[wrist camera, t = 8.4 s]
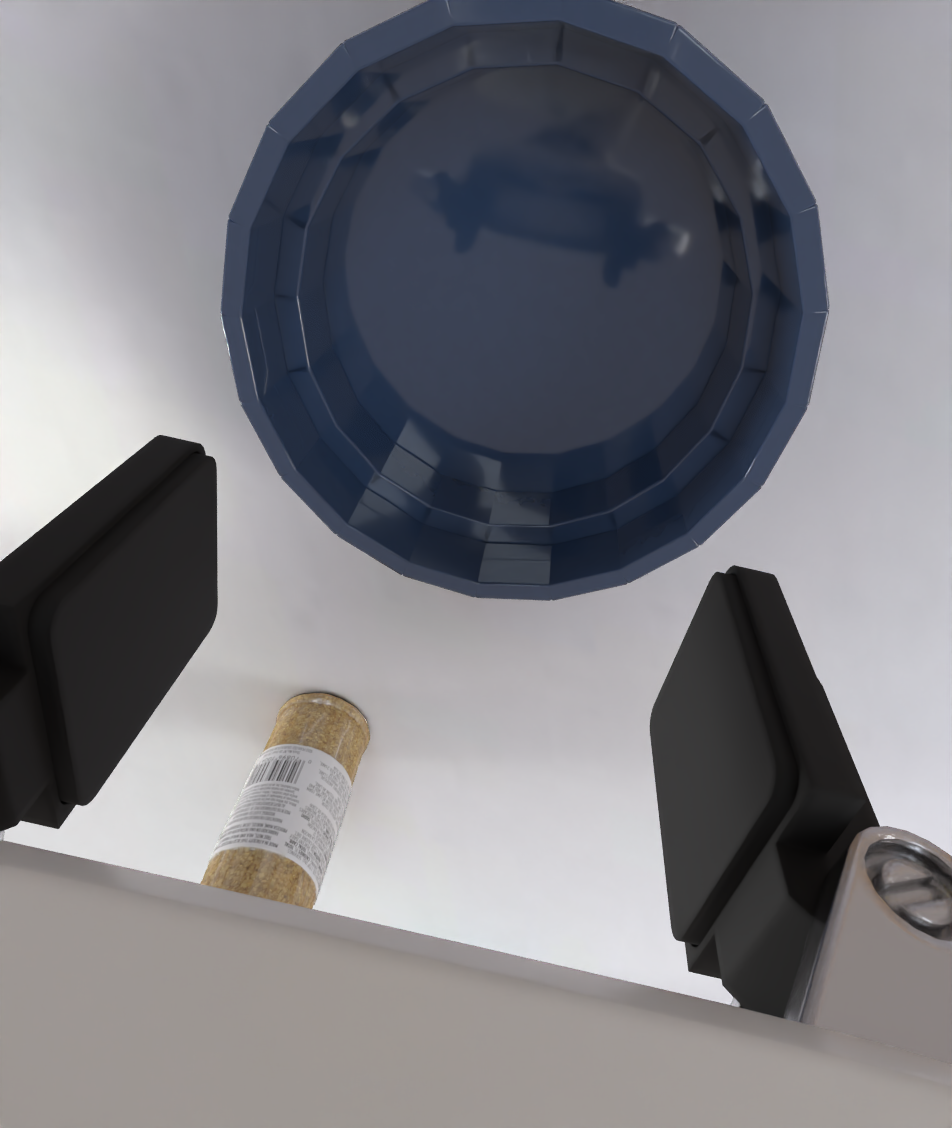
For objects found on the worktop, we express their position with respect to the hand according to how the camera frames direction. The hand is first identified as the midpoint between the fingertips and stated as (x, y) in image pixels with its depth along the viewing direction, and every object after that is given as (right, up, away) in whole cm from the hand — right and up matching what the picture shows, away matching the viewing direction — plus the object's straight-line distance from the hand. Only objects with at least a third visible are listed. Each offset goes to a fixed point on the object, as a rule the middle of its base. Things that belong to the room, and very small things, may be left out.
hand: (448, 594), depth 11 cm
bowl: (+2, +9, +13) cm, 16 cm away
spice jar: (-7, -7, +25) cm, 26 cm away
